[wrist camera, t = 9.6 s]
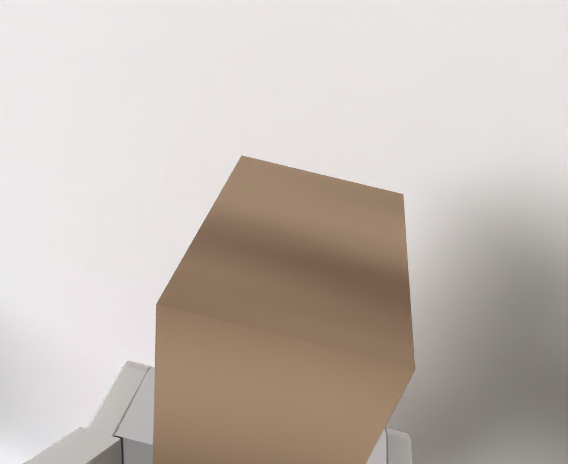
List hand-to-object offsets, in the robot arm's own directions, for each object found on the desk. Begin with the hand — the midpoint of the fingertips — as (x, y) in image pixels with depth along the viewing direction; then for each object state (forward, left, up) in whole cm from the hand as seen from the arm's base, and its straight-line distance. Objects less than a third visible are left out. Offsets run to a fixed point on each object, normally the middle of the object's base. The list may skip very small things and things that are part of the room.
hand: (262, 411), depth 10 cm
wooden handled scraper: (0, +3, -2) cm, 4 cm away
